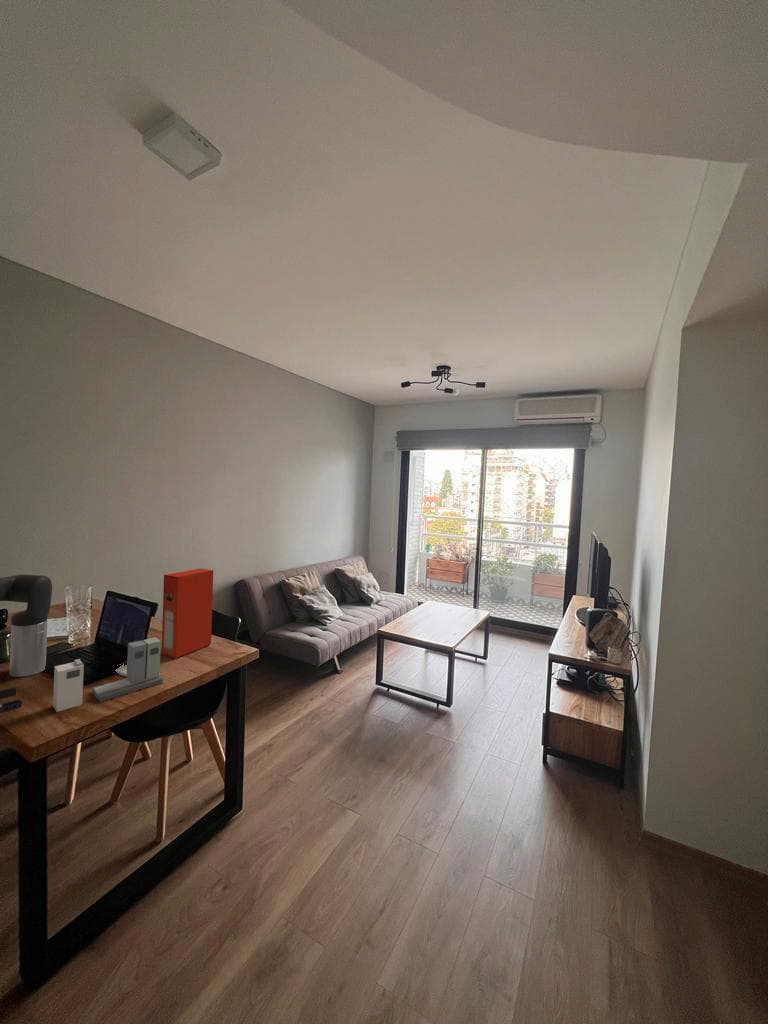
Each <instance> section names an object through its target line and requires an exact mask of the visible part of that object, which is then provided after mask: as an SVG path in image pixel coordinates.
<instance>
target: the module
mask: <svg viewBox="0 0 768 1024" xmlns="http://www.w3.org/2000/svg"><path fill="white" fill-rule="evenodd" d="M84 665H85V664H83V662H82V661H81V659H80V658H78V659H74V661H73V662H69V663H64V664H59V665H54V671H53V672H54V675H53V700H52V701H53V703H52V706H53V708H54V710H55V711H56V713H59V712H62V711H65V710H69V709H72V708H75V707H79V706H82V705H83V692H84V691H83V690H84V671H85V669H84V667H85V666H84Z"/></svg>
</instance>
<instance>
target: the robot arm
mask: <svg viewBox="0 0 768 1024" xmlns="http://www.w3.org/2000/svg"><path fill="white" fill-rule="evenodd" d="M52 594H53V582H52V580H51V578H50V577H48V576H47V575H36V574H17V575H16V574H15V575H11V576H4V577H0V602H15V603H24V604H25V603H26V609H25V610H22V611H18V612H16V613H14V614H13V615H12V616H11V619H10V620H11V622H10V624H11V625H10V633H11V634H10V652H9V653H10V654H9V655H10V656H9V676H11V677H15V678H16V677H17V678H19V677H21V678H22V677H30V676H32V675H33V676H34V675H36V674H40V673H41V672H43V671H45V669H46V668H45V666H47V663H46V662H47V643H48V642H47V639H48V618H49V617H48V616H49V613H50V611H51V606H52V604H51V603H52ZM16 695H17V688H16V687H14V686H13V687H9V688H5V689H1V690H0V700H4V699H7V698H10V697H15V696H16ZM22 702H23V700H22V699H21V698H18V699H14V700H11V701H7V702H3V703H0V716H1V715H2V714H3V713H6V712H10V711H14V710H17V709H20V708H21V707H22V706H23V705H22V704H23V703H22Z"/></svg>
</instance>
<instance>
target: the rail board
mask: <svg viewBox="0 0 768 1024" xmlns="http://www.w3.org/2000/svg"><path fill="white" fill-rule="evenodd" d="M161 652H162V640H160V639H159V638H157V637H152V638H147V639H143V640H137V641H133V642H128V643H127V657H126V658H127V659H126V662H127V677H125V678H122V679H120V680H115V681H111V682H108V683H105V684H100V685H96V686H92V688H91V693H92V694H93V695H94V697H95V698H96V699H97V700H98V702H100V703H102V702H106V701H108V700H112V699H115V698H119V697H121V695H122V696H124V694H125V695H128V694H130V692H132V693H134V692H133V691H135V692H137V691H136V690H138V691H140V690H139V689H141V690H144V689H143V688H145V689H147V688H146V687H148V688H150V686H151V687H154V686H153V685H155V686H157V685H156V684H158V685H161V684H163V681H164V678H162V676H161V674H160V667H161ZM160 683H161V684H160ZM127 693H128V694H127ZM114 697H115V698H114ZM111 698H112V699H111Z"/></svg>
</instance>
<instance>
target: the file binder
mask: <svg viewBox="0 0 768 1024" xmlns="http://www.w3.org/2000/svg"><path fill="white" fill-rule="evenodd" d="M162 589H163V593H162V594H163V595H162V625H161V626H162V627H161V631H162V633H161V656H164V657H168V658H172V659H174V660H175V659H177V658H180V657H183V656H185V655H188V654H189V653H192V652H195V651H198V650H200V649H202V648H205V647H207V646H210V645H212V627H213V626H212V623H213V600H214V599H213V593H214V570H213V569H208V568H202V567H201V568H196V569H195V568H194V569H189V570H184V571H179V572H171V573H167V574H163V588H162Z"/></svg>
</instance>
